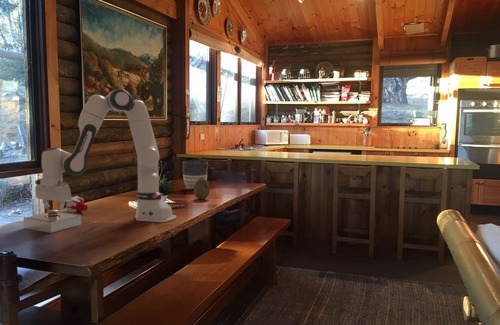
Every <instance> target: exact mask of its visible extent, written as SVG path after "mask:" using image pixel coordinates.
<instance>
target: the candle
mask: <svg viewBox="0 0 500 325" xmlns="http://www.w3.org/2000/svg"><path fill="white" fill-rule="evenodd" d="M65 206H66V212H67V211H68V212H69V213H76V214H80V213H81V212H83V211H85V212H86V211H87V210H88V205H87V204H85V201H84V198H83V197H80V196H78V195H74V196H71V200H70V201H66V205H65Z"/></svg>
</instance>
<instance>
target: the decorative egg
mask: <svg viewBox="0 0 500 325" xmlns="http://www.w3.org/2000/svg"><path fill="white" fill-rule="evenodd" d="M210 192H211V191H210V184H209V182H208V179H207V180H206V179H205V178H203V177H201V178H199V179H198V180H197V181H196V183H195V186H194V190H193V195H194V196H195V198H196V199H198V200H201V199H202V200H205V199H207V198H208V196H209V195H210Z"/></svg>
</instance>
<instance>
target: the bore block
mask: <svg viewBox="0 0 500 325" xmlns="http://www.w3.org/2000/svg"><path fill="white" fill-rule="evenodd" d="M81 225H82V213H81V214H80V213H70V212H69V211H68V212H67V211H63V210H58V217H56V218H48V212H44V213H41V214H36V215H32V216H31V215H30V216H27V217H26V216H24V217H23V229H25V230H32V231H38V232H43V233H48V234H52V233H56V232H59V231H64V230H66V229H70V228H73V227H74V228H76V227H78V226H81Z"/></svg>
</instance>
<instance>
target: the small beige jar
mask: <svg viewBox="0 0 500 325" xmlns="http://www.w3.org/2000/svg"><path fill="white" fill-rule="evenodd" d="M58 211H59V209H48V210H47V213H48V218H56V217H58Z"/></svg>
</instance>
